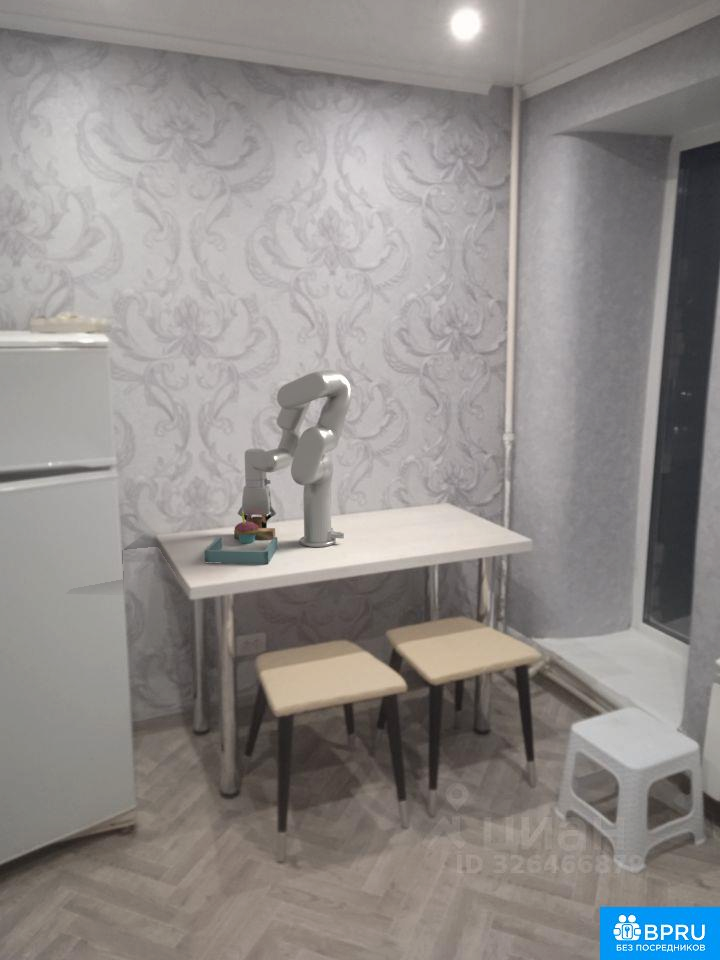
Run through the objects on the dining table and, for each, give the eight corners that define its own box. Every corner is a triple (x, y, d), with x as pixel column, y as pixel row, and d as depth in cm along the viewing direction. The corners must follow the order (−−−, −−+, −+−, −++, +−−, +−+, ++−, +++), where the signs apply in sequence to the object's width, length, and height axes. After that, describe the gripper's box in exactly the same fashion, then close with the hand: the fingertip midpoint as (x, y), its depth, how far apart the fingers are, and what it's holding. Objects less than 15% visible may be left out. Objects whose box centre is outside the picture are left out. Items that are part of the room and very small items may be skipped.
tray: (277, 548, 248) (277, 537, 247) (267, 564, 231) (267, 552, 230) (218, 547, 249) (218, 536, 249) (204, 563, 233) (204, 551, 232)
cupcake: (248, 546, 250) (247, 512, 248) (229, 542, 255) (228, 509, 252) (264, 540, 258) (263, 507, 255) (245, 537, 262) (244, 504, 260)
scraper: (277, 533, 266) (277, 517, 265) (273, 539, 259) (272, 523, 257) (239, 532, 267) (239, 516, 266) (234, 538, 260) (233, 522, 258)
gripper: (280, 481, 264) (281, 530, 268) (235, 480, 265) (237, 529, 269) (277, 485, 257) (278, 535, 261) (230, 485, 258) (232, 534, 262)
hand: (257, 531), depth 265 cm, fingers closed on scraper, 4 cm apart
